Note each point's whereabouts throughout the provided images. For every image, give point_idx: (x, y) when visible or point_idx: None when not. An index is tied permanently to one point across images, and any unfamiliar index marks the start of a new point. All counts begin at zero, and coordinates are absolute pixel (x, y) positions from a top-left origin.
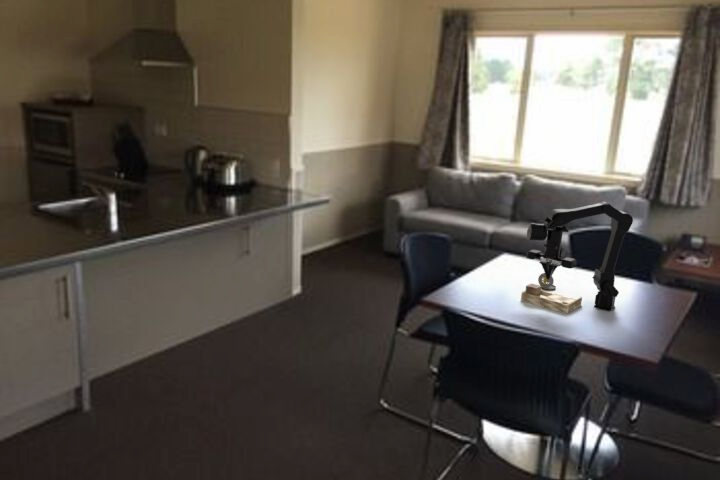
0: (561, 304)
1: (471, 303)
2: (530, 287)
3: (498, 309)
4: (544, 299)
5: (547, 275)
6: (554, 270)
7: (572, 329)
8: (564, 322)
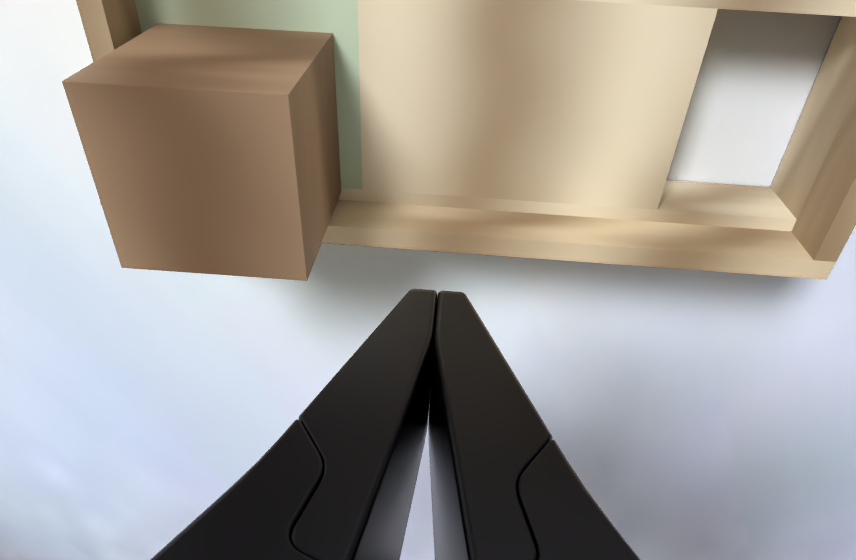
0: (731, 264)
1: (44, 490)
2: (203, 264)
3: (236, 478)
4: (482, 248)
5: (420, 456)
6: (584, 507)
7: (846, 492)
8: (772, 418)
